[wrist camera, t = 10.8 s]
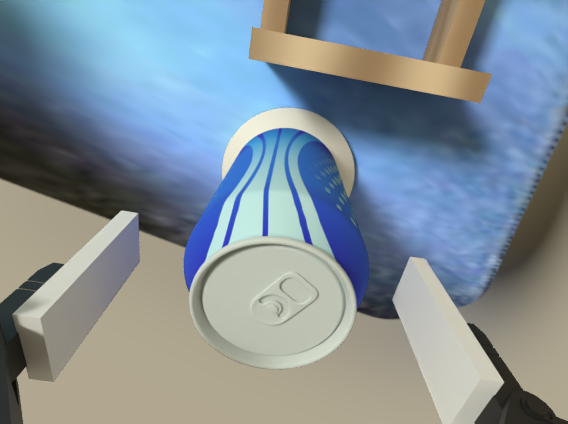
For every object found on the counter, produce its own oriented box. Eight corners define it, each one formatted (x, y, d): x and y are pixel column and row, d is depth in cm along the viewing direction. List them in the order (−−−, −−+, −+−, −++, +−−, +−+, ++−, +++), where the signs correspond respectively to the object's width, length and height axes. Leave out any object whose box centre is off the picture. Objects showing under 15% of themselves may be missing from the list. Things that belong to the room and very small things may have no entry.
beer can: (338, 217, 29) (378, 381, 14) (243, 223, 29) (190, 387, 15) (335, 119, 25) (385, 207, 11) (227, 129, 26) (137, 224, 11)
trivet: (218, 220, 30) (216, 223, 29) (230, 95, 25) (228, 95, 25) (335, 240, 30) (336, 243, 30) (369, 121, 26) (371, 122, 25)
